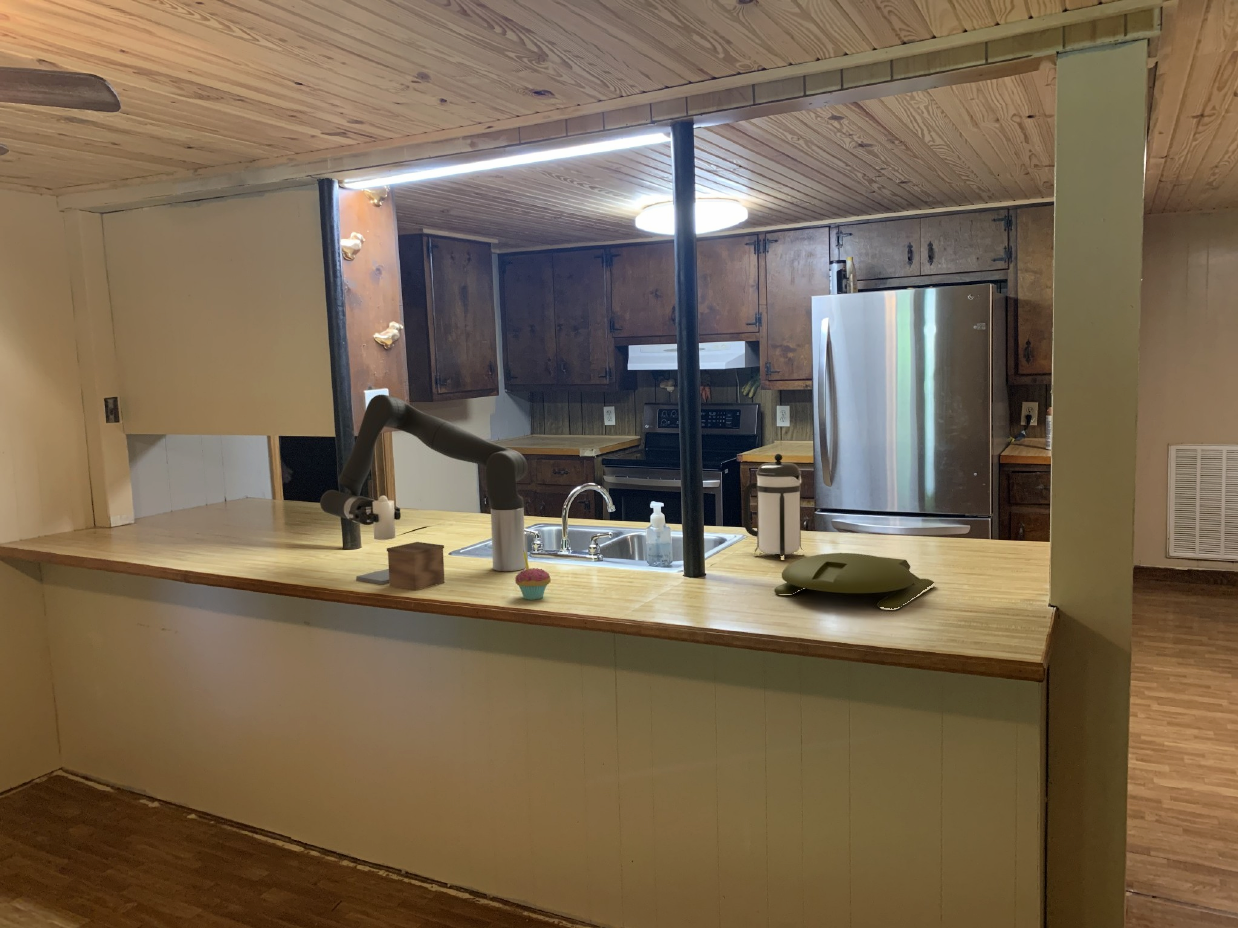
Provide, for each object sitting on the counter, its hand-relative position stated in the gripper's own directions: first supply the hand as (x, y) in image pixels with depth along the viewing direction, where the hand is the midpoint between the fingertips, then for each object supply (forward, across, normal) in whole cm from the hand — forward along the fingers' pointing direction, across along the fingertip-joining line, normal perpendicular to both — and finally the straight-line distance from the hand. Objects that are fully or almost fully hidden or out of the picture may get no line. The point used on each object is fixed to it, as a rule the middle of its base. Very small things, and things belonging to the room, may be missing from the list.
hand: (388, 517), depth 240 cm
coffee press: (+53, +96, +16) cm, 111 cm away
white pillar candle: (-3, 0, +6) cm, 7 cm away
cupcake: (+44, +17, +17) cm, 50 cm away
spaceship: (+95, +74, +16) cm, 122 cm away
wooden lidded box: (+11, +2, +17) cm, 20 cm away
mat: (-2, 0, +17) cm, 17 cm away
